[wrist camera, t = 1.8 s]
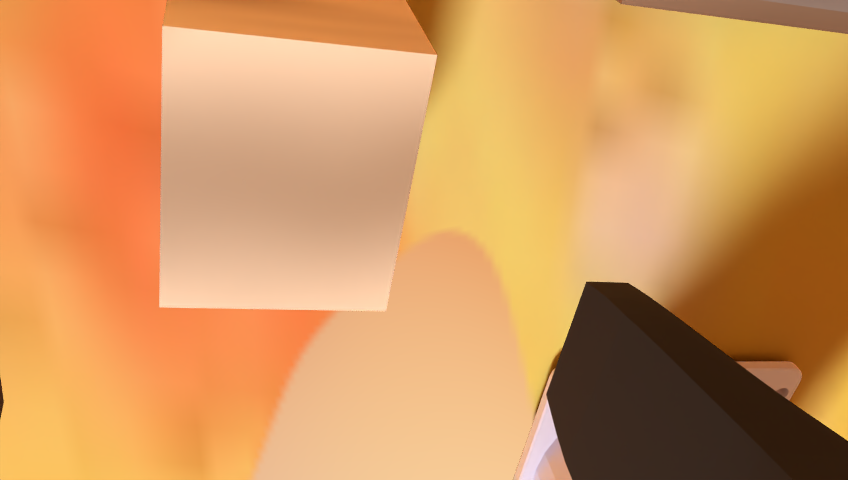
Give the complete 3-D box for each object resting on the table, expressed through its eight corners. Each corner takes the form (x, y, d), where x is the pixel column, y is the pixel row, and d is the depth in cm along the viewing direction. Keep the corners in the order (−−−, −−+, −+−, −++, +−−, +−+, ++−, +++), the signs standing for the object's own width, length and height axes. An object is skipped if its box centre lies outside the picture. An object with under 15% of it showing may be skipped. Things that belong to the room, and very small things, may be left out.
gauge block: (357, 199, 18) (385, 311, 15) (171, 189, 17) (159, 307, 14) (392, -22, 15) (437, 55, 12) (176, -51, 14) (162, 26, 11)
